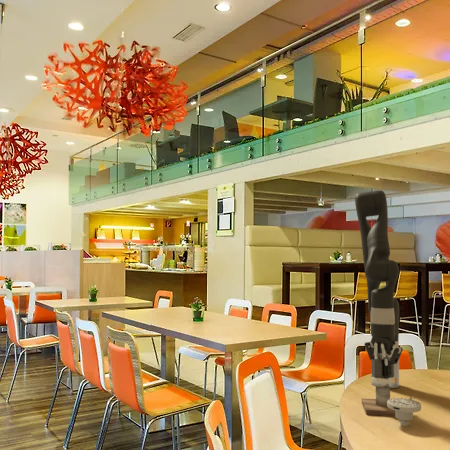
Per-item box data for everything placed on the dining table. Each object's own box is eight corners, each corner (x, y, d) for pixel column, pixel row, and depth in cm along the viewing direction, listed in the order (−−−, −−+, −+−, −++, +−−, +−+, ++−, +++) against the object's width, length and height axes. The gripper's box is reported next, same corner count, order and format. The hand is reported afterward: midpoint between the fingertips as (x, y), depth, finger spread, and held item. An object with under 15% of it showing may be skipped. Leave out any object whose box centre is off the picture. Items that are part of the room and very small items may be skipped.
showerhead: (427, 399, 148) (412, 406, 141) (428, 424, 147) (412, 432, 140) (397, 392, 154) (381, 399, 147) (397, 417, 154) (381, 424, 147)
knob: (366, 382, 164) (366, 357, 165) (389, 381, 167) (389, 356, 167) (379, 388, 158) (378, 361, 158) (402, 386, 160) (402, 360, 160)
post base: (361, 402, 169) (361, 380, 169) (398, 404, 167) (398, 381, 167) (366, 414, 156) (366, 390, 156) (406, 416, 154) (406, 391, 155)
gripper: (357, 320, 167) (358, 373, 166) (393, 325, 155) (394, 382, 154) (372, 318, 171) (373, 370, 170) (408, 323, 160) (409, 378, 159)
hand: (383, 375), depth 162 cm, fingers closed on knob, 2 cm apart
